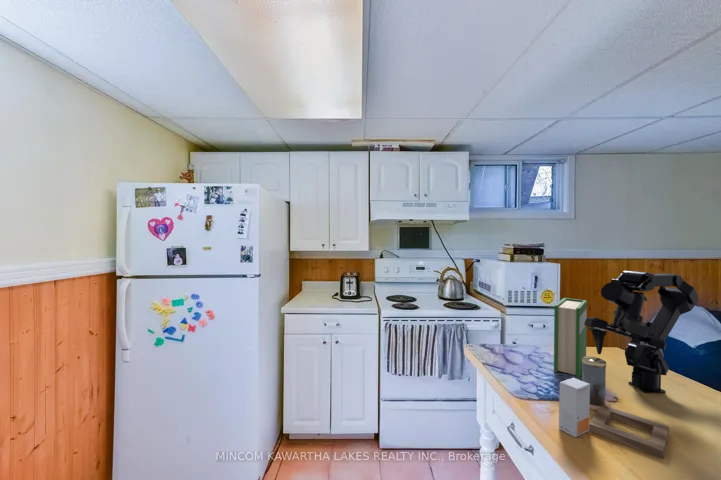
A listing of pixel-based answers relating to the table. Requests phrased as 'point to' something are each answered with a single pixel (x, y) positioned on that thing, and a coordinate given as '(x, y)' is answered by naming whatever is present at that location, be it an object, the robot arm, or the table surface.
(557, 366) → the hardback book
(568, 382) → the skincare box
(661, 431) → the pocket frame
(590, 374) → the tea tin
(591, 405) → the coaster
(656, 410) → the table surface
